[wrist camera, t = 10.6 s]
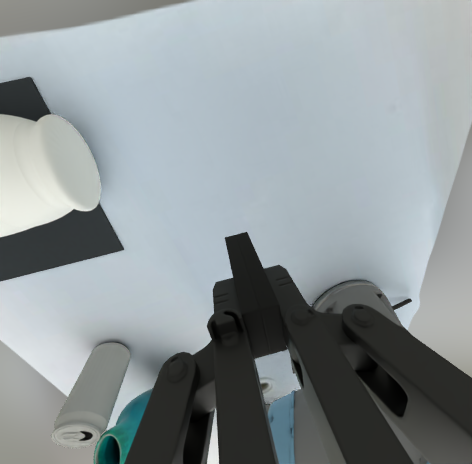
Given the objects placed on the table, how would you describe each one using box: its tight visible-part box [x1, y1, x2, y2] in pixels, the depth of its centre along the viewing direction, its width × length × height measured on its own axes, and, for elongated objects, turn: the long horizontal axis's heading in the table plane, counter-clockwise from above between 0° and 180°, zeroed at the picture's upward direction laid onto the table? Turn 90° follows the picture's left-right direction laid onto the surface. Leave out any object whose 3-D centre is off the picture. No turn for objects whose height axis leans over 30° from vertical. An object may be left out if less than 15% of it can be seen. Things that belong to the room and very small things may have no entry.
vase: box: [94, 388, 153, 464], centre depth 36 cm, size 11×11×19 cm
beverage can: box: [51, 342, 131, 448], centre depth 33 cm, size 6×6×12 cm
